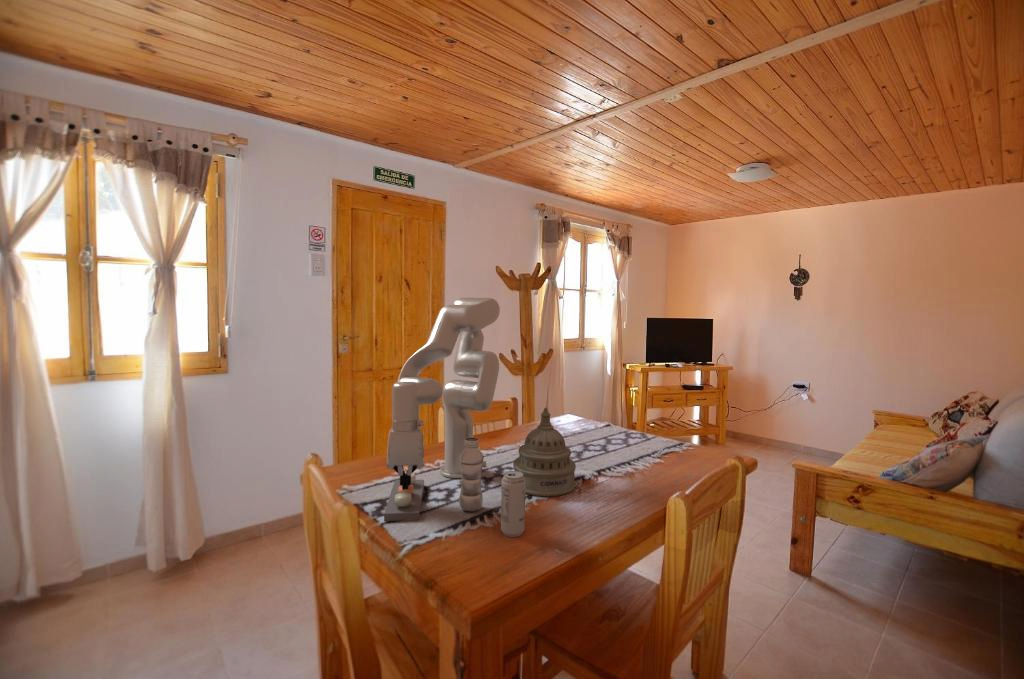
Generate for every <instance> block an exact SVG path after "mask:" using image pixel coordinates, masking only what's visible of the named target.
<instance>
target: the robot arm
mask: <svg viewBox="0 0 1024 679" xmlns="http://www.w3.org/2000/svg"><path fill="white" fill-rule="evenodd" d="M500 309H501V308H500V305H499V302H498V301H497V300H496V299H494V298H491V297H459V298H457V299H455V300H454V301H453V303H452V304H446V305H444V306H443V307H442V308H441V309H439V312H438V314H437V316H436V319H435V321H434V322H433V323H434V324H433V326H432V328H431V332H430V334H429V335H428V339H427V341H426V343H425V344H424V345H423V346H422V347H420V348H419V349H418V350H416V352H414V353H413V354H412V355H411V356H409V358H408V359H407V360H406V361H405V363H404V365H403V366H402V368H401V370H400V372H399V376H398V377H397V381H396V382H394V383H393V385H392V387H391V428H390V429H389V432H388V438H387V446H386V447H387V449H386V465H385V466H386V467H385V468H386V469H389V470H394V471H395V472H396V473H397V474H398V476H399V480H400V486H402V490H403V489H408V486H409V485H411V474H412V473H414V472H415V471H416V470H418V469H422V468H425V461H424V458H425V452H424V450H425V449H424V448H425V447H424V446H425V445H424V435H423V429H422V428H421V427H422V426H425V420H422V419H420V406H421V405H432V404H435V403H437V402H438V401H440V399H441V400H442V403H443V411H444V465H442V466H441V467H440V468H439V473H440V474H441V475H442V476H443V477H446V478H448V479H449V478H451V479H462V476H461V465H460V456H461V454H462V452H463V451H464V449H465V448H466V447H465V439H466V438H474V419H473V415H472V413H471V412H472V411H473V412H486V411H488V410H489V409H490V408H491V406H492V403H493V400H494V395H495V392H496V391H495V390H496V387H497V381H498V379H499V378H498V377H499V371H500V360H499V357H498V355H497V354H496V353H494V352H493V351H490V350H483V348H484V347H483V346H484V341H485V339H484V338H485V337H484V333H483V331H482V330H483V329H485V328H487V327H488V326H491V325H493V323H495V322H496V321H497V320H498V318H499V316H500V311H501V310H500ZM458 338H459V339H458ZM457 341H458V344H457ZM456 344H457V347H456ZM455 347H456V348H457V349H456V352H455V356H454V360H453V372H454V373H455V374H456V375H457V376H459V377H462V378H468V379H469V378H473V379H477V381H472V380H466V379H465V380H464V379H452V380H449V381H447V382H446V383H445V384H444V385H443V386H442V384H441V383H440V381H438V380H436V379H434V378H427V377H421V376H419V375H420V373H421V372H422V371H423V370H424V369H425V368H427V367H428V366H430V365H431V364H434V363H437V362H439V361H441V360H444V359H447V358H448V357H450V356H452V353H453V351H454V349H455ZM404 466H408V467H407V471H406V472H405V469H404ZM482 468H487V461H485V460H483V466H482Z"/></svg>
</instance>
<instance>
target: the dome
mask: <svg viewBox="0 0 1024 679" xmlns="http://www.w3.org/2000/svg"><path fill="white" fill-rule="evenodd" d="M540 417H541V418H540V423H539V424H538V425H537V426H536V428H534V429H531V431H529V433H527V435H526V437H525V439H524V444H522V445H521V446H519V448H518V455H519V456H518V457H516V458H515V459H514V460H513V463H512V464H513V468H514V470H513V471H518V472H521V473H523V477H524V479H525V494H527V495H532V496H537V497H559V496H563V495H566V494H569V493H571V492H573V490H575V489H576V481H575V476H576V475H575V472H576V466H577V465H576V463H575V461H574V460H573V459H572V458H571V454H572V451H571V449H570V447H569V446H567V445H566V441H565V438H564V436H563V435H562V434H561V432H559V430H557V429H556V428H555V426H554V425H552V422H551V413H550V412H549V411H548V408H547V407H544V408H543V411H542V412H541V413H540Z"/></svg>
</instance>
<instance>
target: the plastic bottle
mask: <svg viewBox="0 0 1024 679" xmlns="http://www.w3.org/2000/svg"><path fill="white" fill-rule="evenodd" d="M479 445H480V443H479V438H477V437H473V438H466V439H465V447H466V448H465V449H464V451H463V452H462V454H461V456H460V465H461V476H462V478H461V486H460V493H459V497H458V504H459V508H460V509H461V510H463V511H465V512H476V511H479V510H480V509H481V508H482V506H483V502H484V498H483V493H482V492H483V490H482V472H483V467H482V466H483V461H484V455H483V453H482V451H481V450H480V448H479Z"/></svg>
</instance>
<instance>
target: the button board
mask: <svg viewBox="0 0 1024 679" xmlns="http://www.w3.org/2000/svg"><path fill="white" fill-rule="evenodd" d="M411 485H413V486H414V494H413V495H412V496H411V504H410V505H408V506H396V505H395V495H396V494H398V487H399V486H400V479H399V480H397V479H395V480H394V482H393V485H392V488H391V491H390V493H389V494H390V495H389V498H388V501H387V503H386V507H385V510H384V512H383V521H384V522H395V521H396V522H397V521H398V522H399V521H416V520H417V521H419V520H420V515H421V509H422V508H421V507H422V502H423V501H422V500H423V494H424V489H425V479H416V482H415V483H413V484H411Z"/></svg>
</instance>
